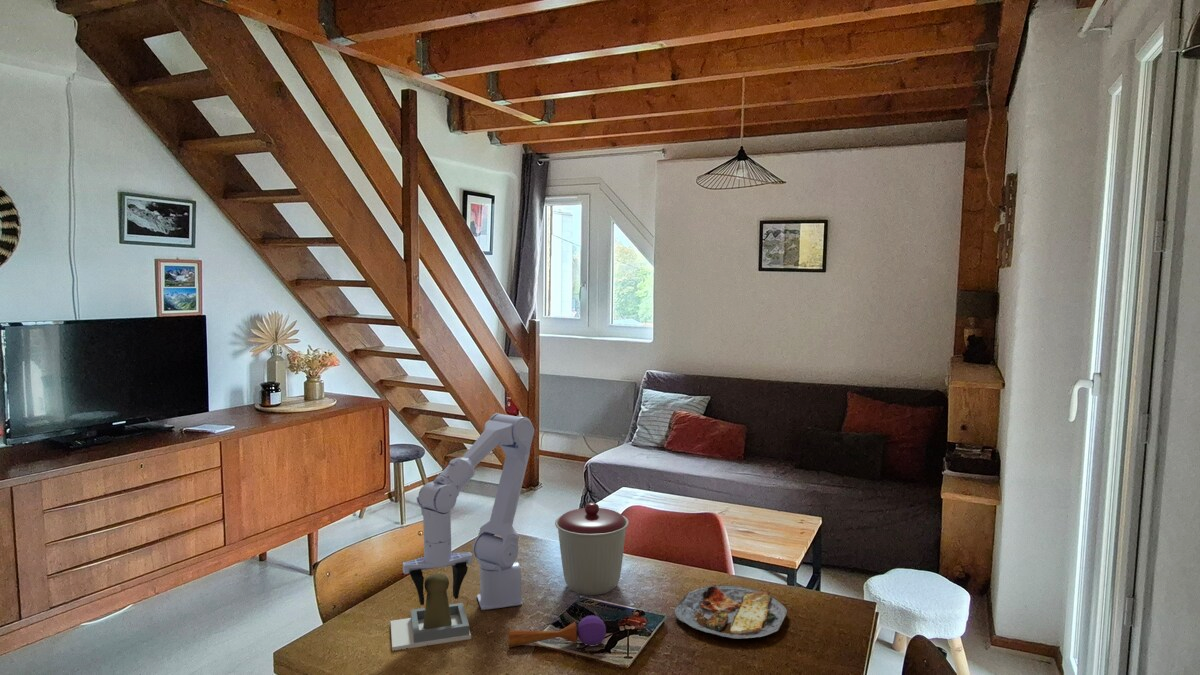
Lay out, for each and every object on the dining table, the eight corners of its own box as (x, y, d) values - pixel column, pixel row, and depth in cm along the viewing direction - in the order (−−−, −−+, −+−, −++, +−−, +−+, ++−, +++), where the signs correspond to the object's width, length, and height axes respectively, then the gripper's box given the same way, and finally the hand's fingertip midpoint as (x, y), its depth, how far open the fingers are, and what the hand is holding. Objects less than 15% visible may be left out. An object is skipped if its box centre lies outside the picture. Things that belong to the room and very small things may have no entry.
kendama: (510, 620, 152) (604, 610, 153) (512, 649, 151) (606, 639, 152) (507, 628, 146) (605, 618, 147) (509, 658, 145) (607, 648, 146)
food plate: (699, 585, 178) (699, 571, 177) (794, 604, 167) (795, 590, 167) (662, 632, 155) (662, 617, 155) (770, 658, 145) (770, 641, 145)
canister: (544, 580, 181) (543, 498, 180) (607, 566, 190) (607, 488, 188) (574, 608, 165) (573, 519, 164) (642, 593, 174) (642, 508, 172)
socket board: (464, 613, 163) (463, 601, 163) (471, 638, 152) (470, 626, 151) (390, 624, 158) (390, 612, 158) (392, 650, 147) (391, 637, 147)
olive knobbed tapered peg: (448, 631, 153) (447, 581, 152) (419, 631, 153) (418, 581, 152) (454, 618, 159) (453, 570, 158) (427, 618, 159) (426, 570, 158)
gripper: (466, 528, 160) (467, 587, 161) (400, 537, 155) (401, 598, 156) (474, 538, 154) (475, 599, 155) (404, 548, 148) (406, 612, 149)
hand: (438, 600), depth 155 cm, fingers open, 7 cm apart
